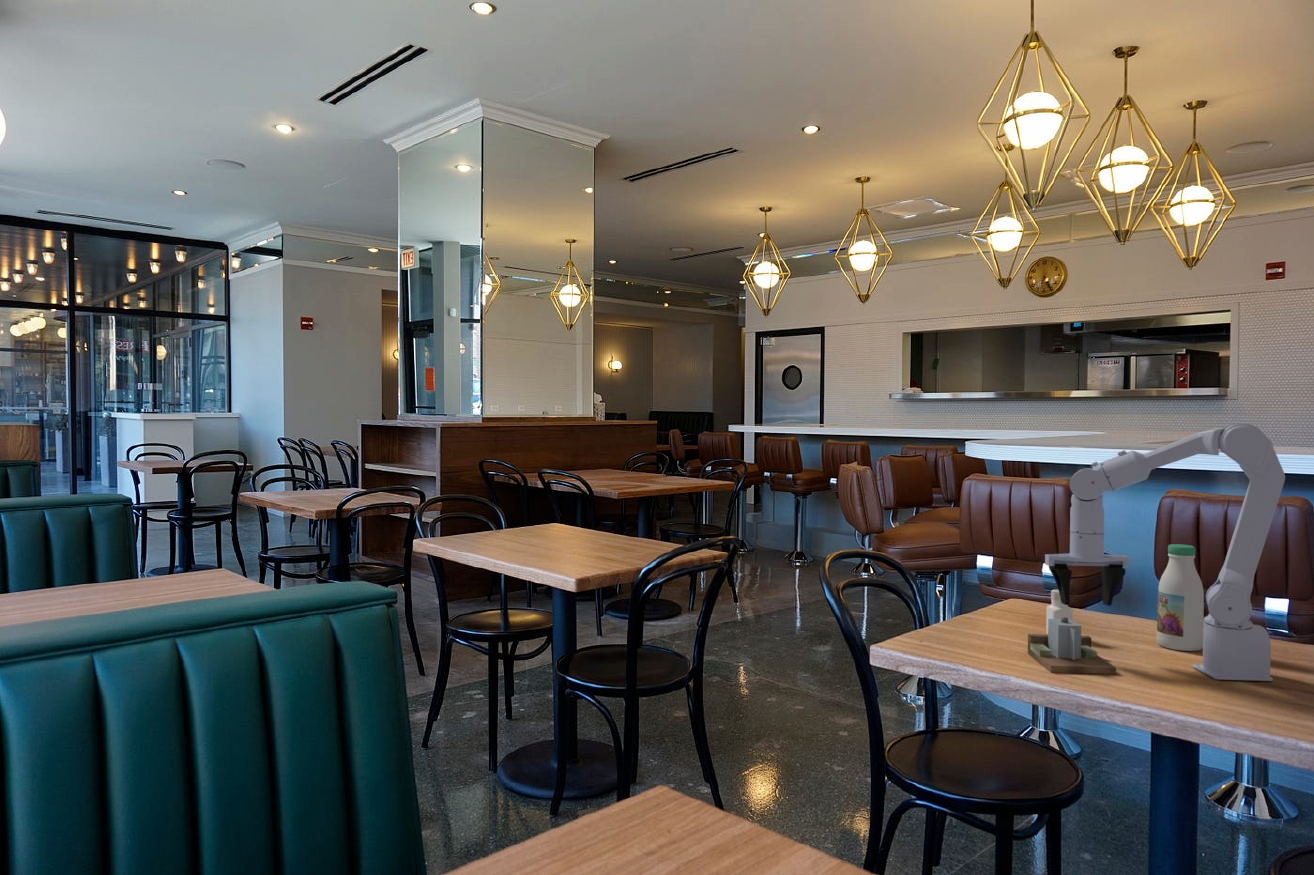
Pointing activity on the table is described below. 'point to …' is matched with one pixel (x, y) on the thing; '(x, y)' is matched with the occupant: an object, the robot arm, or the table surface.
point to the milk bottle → (1180, 602)
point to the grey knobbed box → (1064, 638)
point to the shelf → (1067, 665)
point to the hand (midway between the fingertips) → (1086, 604)
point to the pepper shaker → (1057, 609)
